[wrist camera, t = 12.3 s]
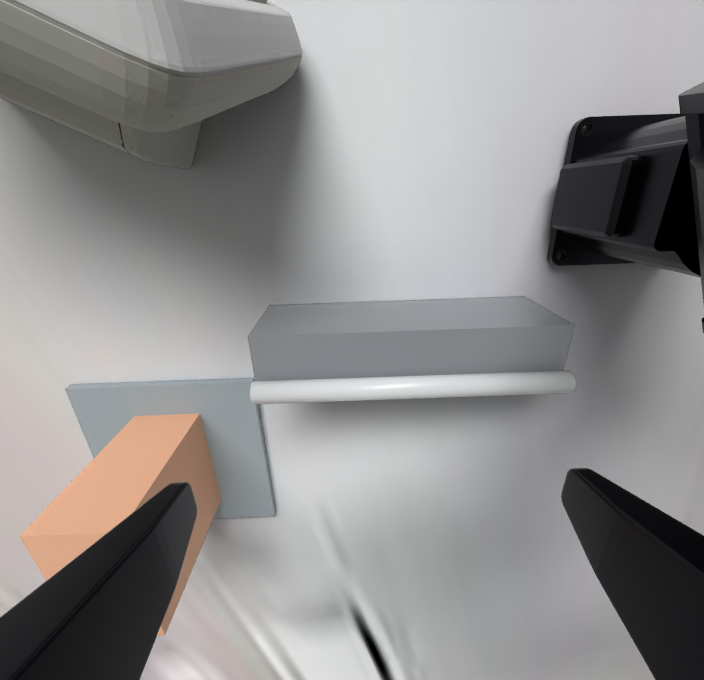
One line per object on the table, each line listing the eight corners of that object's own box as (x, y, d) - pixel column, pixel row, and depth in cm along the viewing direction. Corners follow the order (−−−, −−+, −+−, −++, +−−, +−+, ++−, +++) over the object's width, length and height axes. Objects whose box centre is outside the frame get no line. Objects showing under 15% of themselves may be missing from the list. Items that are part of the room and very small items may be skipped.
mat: (254, 377, 21) (251, 382, 20) (275, 510, 25) (274, 516, 24) (71, 384, 21) (64, 388, 20) (124, 515, 25) (120, 522, 24)
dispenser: (524, 296, 19) (589, 333, 14) (515, 346, 20) (572, 397, 15) (269, 305, 19) (241, 345, 14) (276, 354, 20) (252, 408, 15)
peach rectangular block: (199, 413, 21) (119, 532, 14) (221, 498, 24) (164, 635, 16) (134, 416, 21) (19, 536, 14) (163, 500, 24) (81, 638, 16)
